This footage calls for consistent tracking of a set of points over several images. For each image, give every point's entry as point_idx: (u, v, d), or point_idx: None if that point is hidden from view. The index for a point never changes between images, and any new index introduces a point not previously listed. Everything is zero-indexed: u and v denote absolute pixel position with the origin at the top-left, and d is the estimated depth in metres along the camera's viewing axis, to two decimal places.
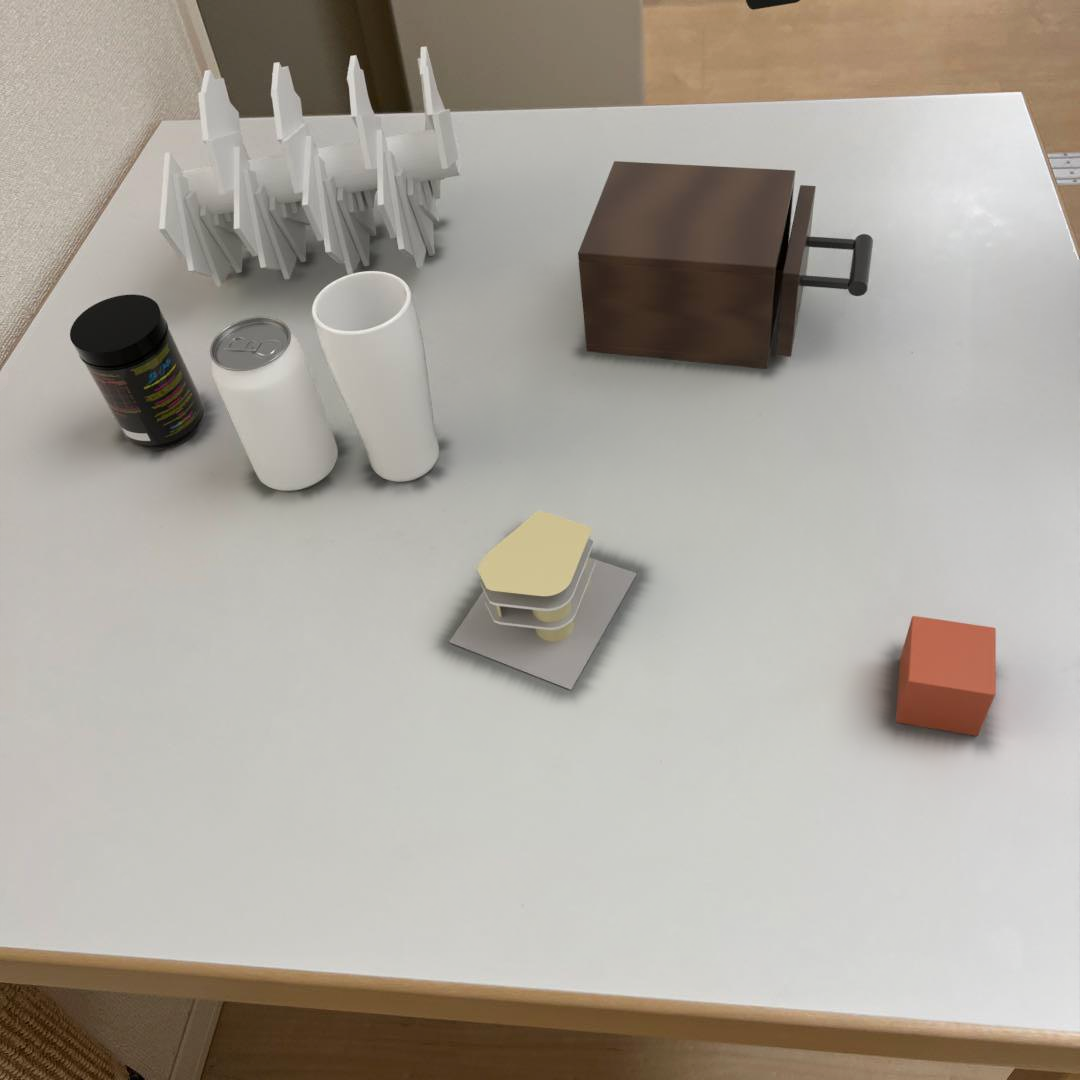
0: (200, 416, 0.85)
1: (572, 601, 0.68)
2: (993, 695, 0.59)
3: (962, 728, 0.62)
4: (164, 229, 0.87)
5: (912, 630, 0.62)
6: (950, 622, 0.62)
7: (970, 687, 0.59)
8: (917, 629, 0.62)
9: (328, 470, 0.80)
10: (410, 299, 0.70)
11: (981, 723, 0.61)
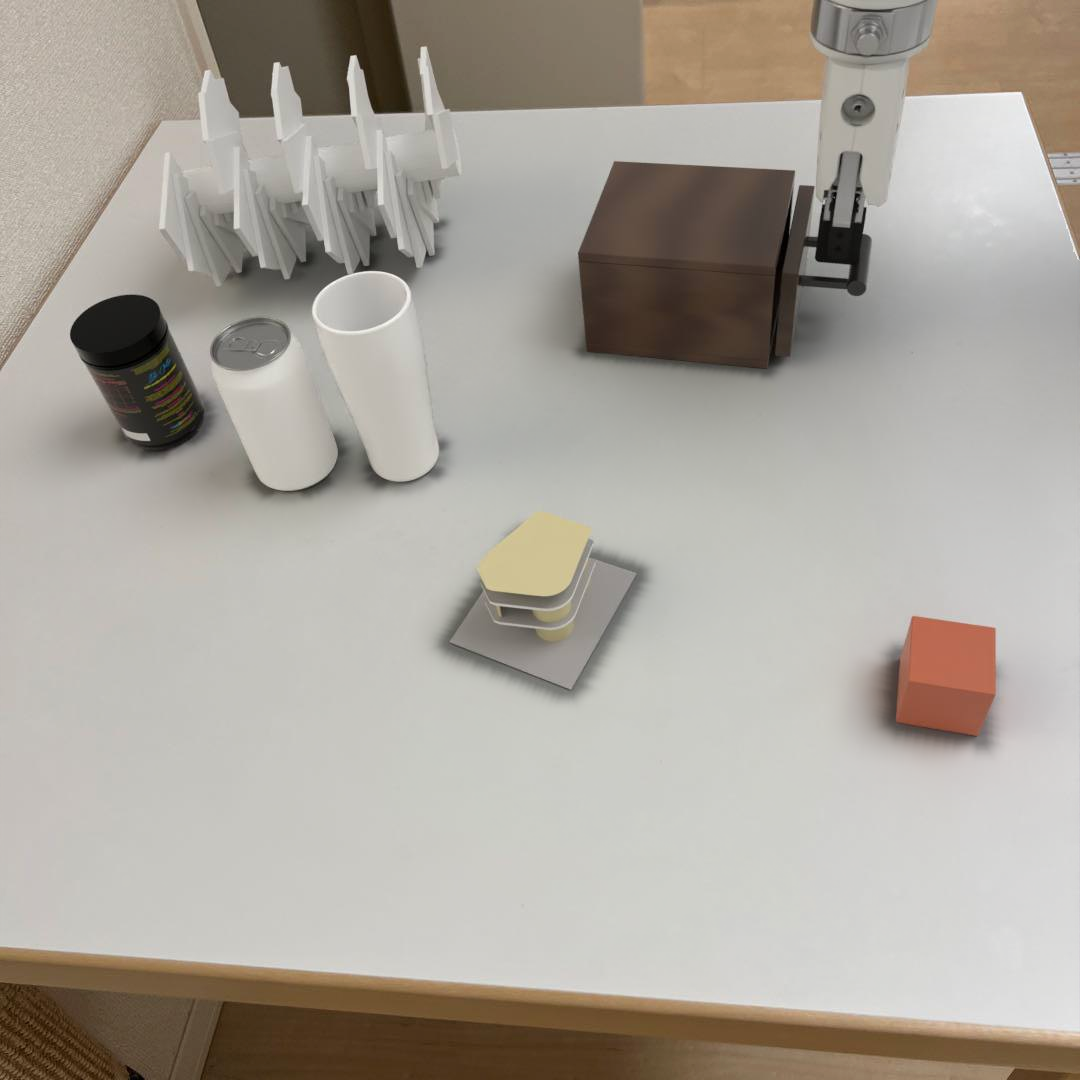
0: (200, 416, 0.85)
1: (572, 601, 0.68)
2: (993, 695, 0.59)
3: (962, 728, 0.62)
4: (164, 229, 0.87)
5: (912, 630, 0.62)
6: (950, 622, 0.62)
7: (970, 687, 0.59)
8: (917, 629, 0.62)
9: (328, 470, 0.80)
10: (410, 299, 0.70)
11: (981, 723, 0.61)
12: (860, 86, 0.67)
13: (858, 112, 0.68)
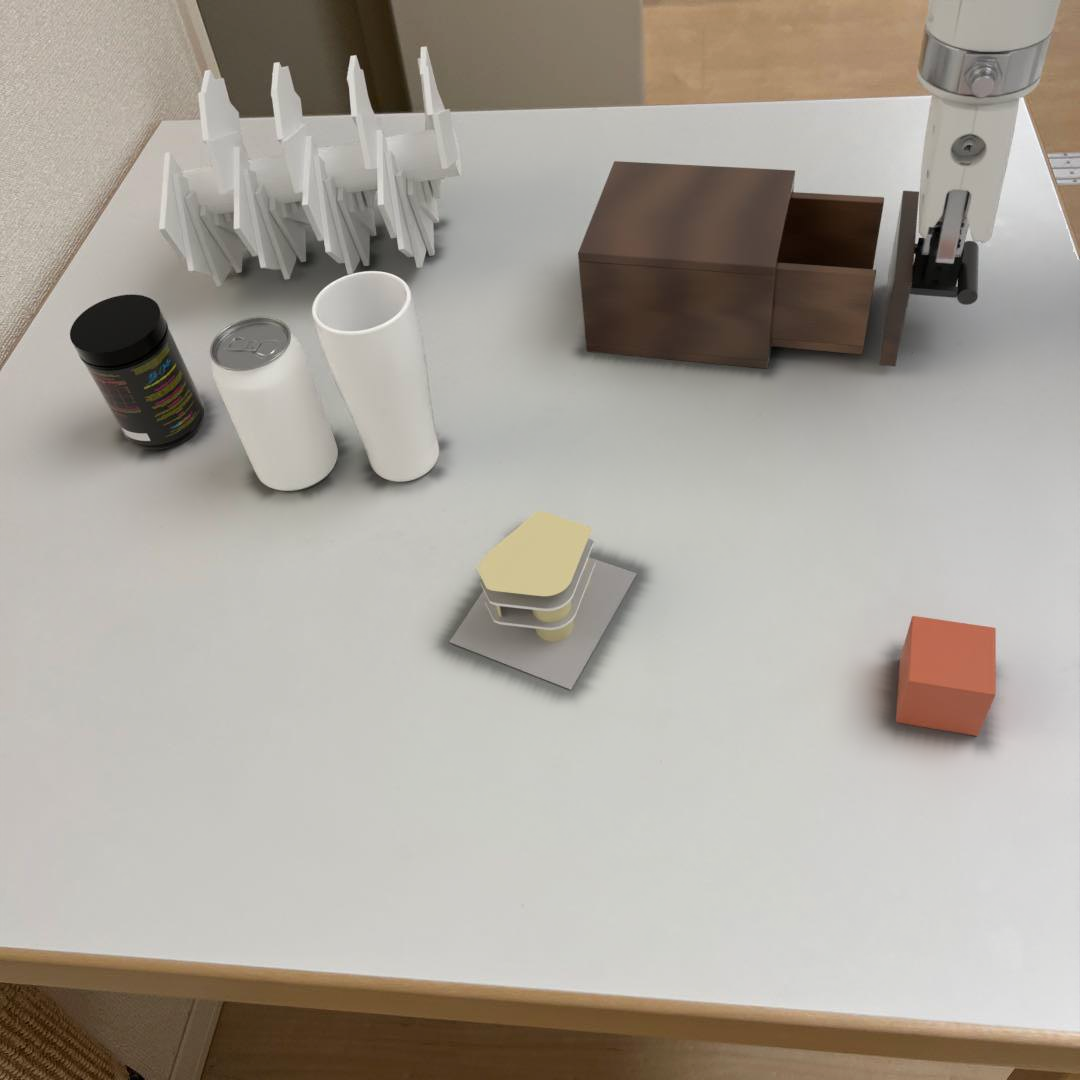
0: (200, 416, 0.85)
1: (572, 601, 0.68)
2: (993, 695, 0.59)
3: (962, 728, 0.62)
4: (164, 229, 0.87)
5: (912, 630, 0.62)
6: (950, 622, 0.62)
7: (970, 687, 0.59)
8: (917, 629, 0.62)
9: (328, 470, 0.80)
10: (410, 299, 0.70)
11: (981, 723, 0.61)
12: (972, 126, 0.67)
13: (968, 151, 0.68)
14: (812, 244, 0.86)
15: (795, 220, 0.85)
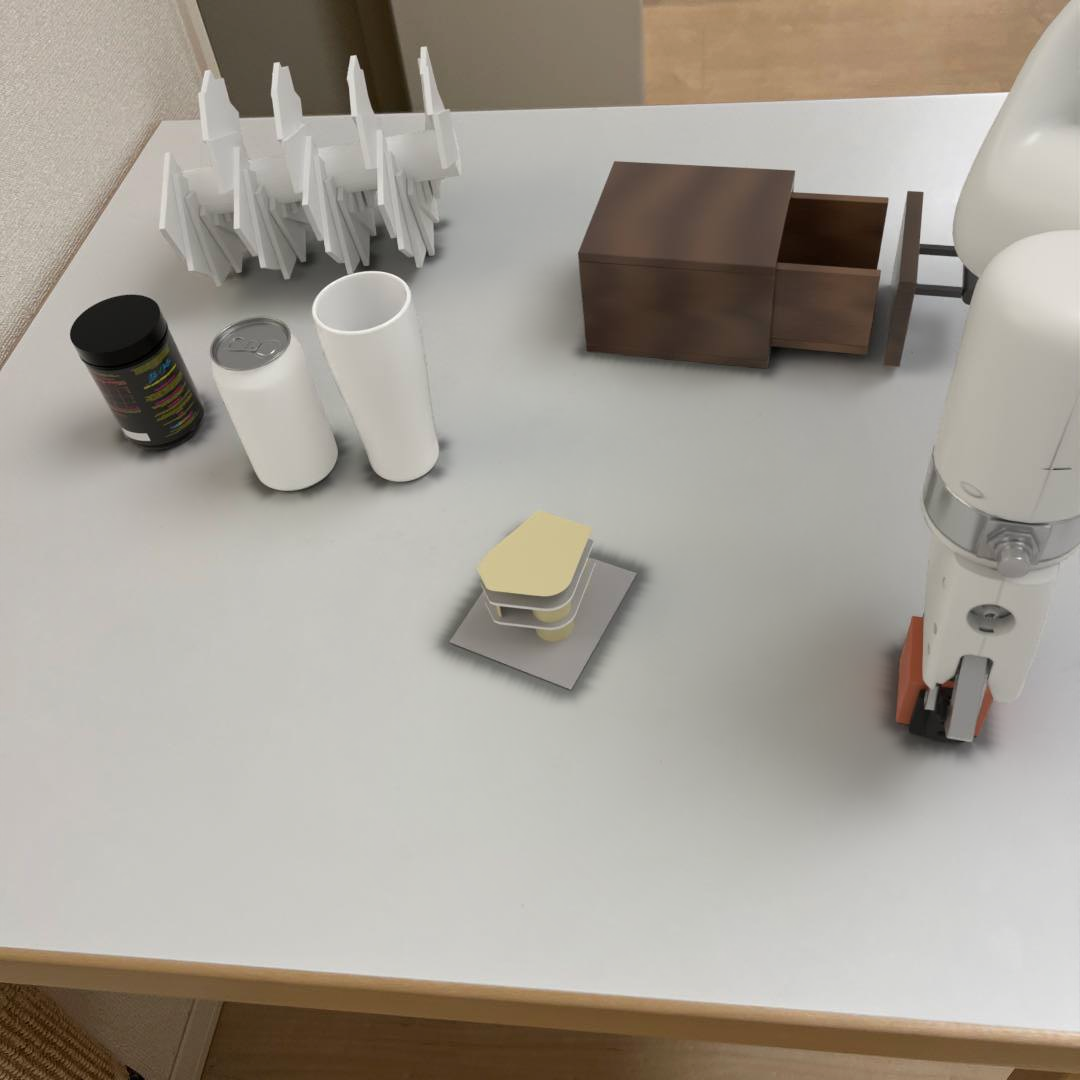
0: (200, 416, 0.85)
1: (572, 601, 0.68)
2: None
3: None
4: (164, 229, 0.87)
5: (912, 630, 0.62)
6: None
7: None
8: (917, 629, 0.62)
9: (328, 470, 0.80)
10: (410, 299, 0.70)
11: (981, 723, 0.61)
12: (996, 597, 0.49)
13: (990, 618, 0.50)
14: (817, 244, 0.86)
15: (799, 220, 0.85)
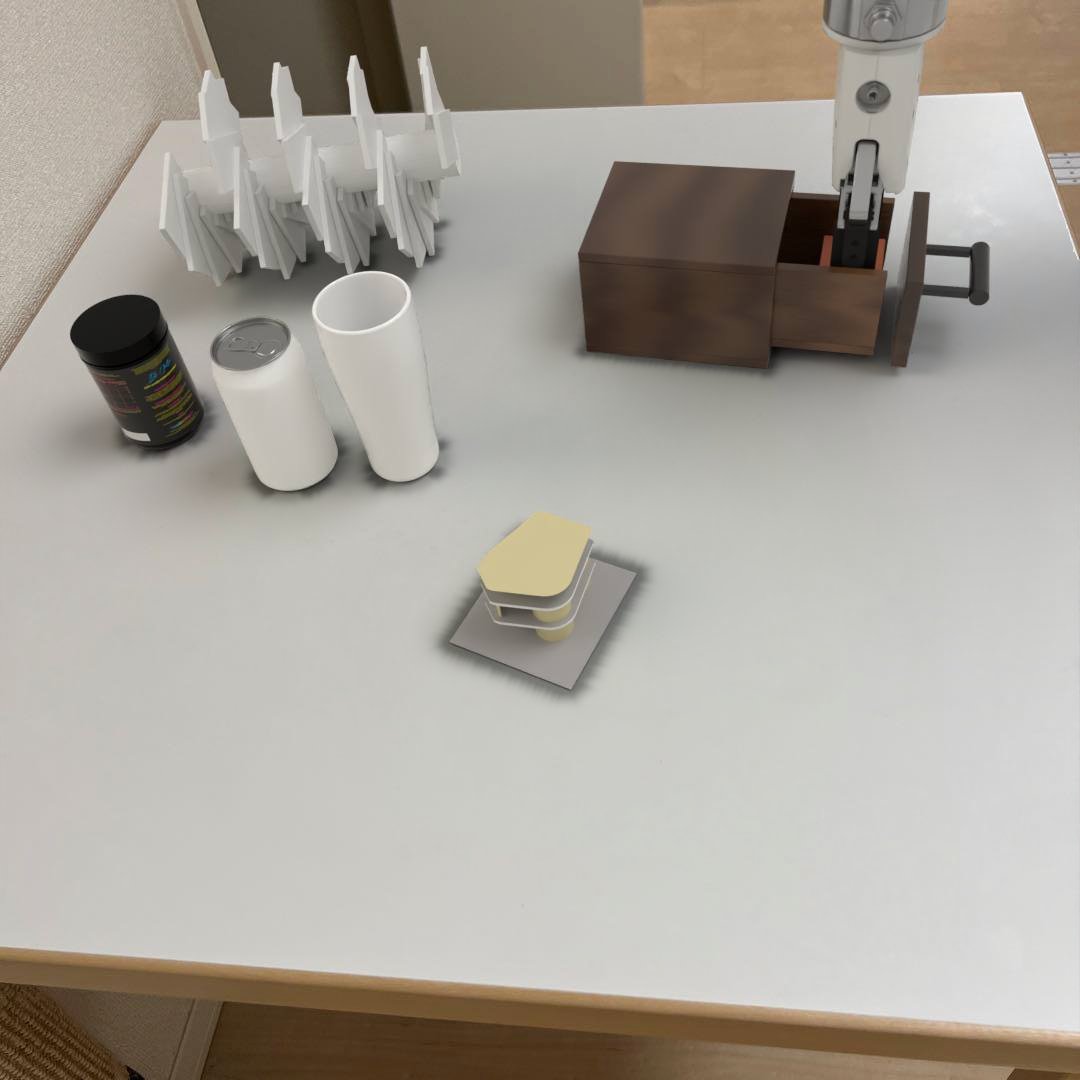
0: (200, 416, 0.85)
1: (572, 601, 0.68)
2: None
3: None
4: (164, 229, 0.87)
5: (823, 243, 0.82)
6: None
7: None
8: (827, 242, 0.82)
9: (328, 470, 0.80)
10: (410, 299, 0.70)
11: None
12: (875, 73, 0.66)
13: (873, 99, 0.67)
14: None
15: (805, 221, 0.85)
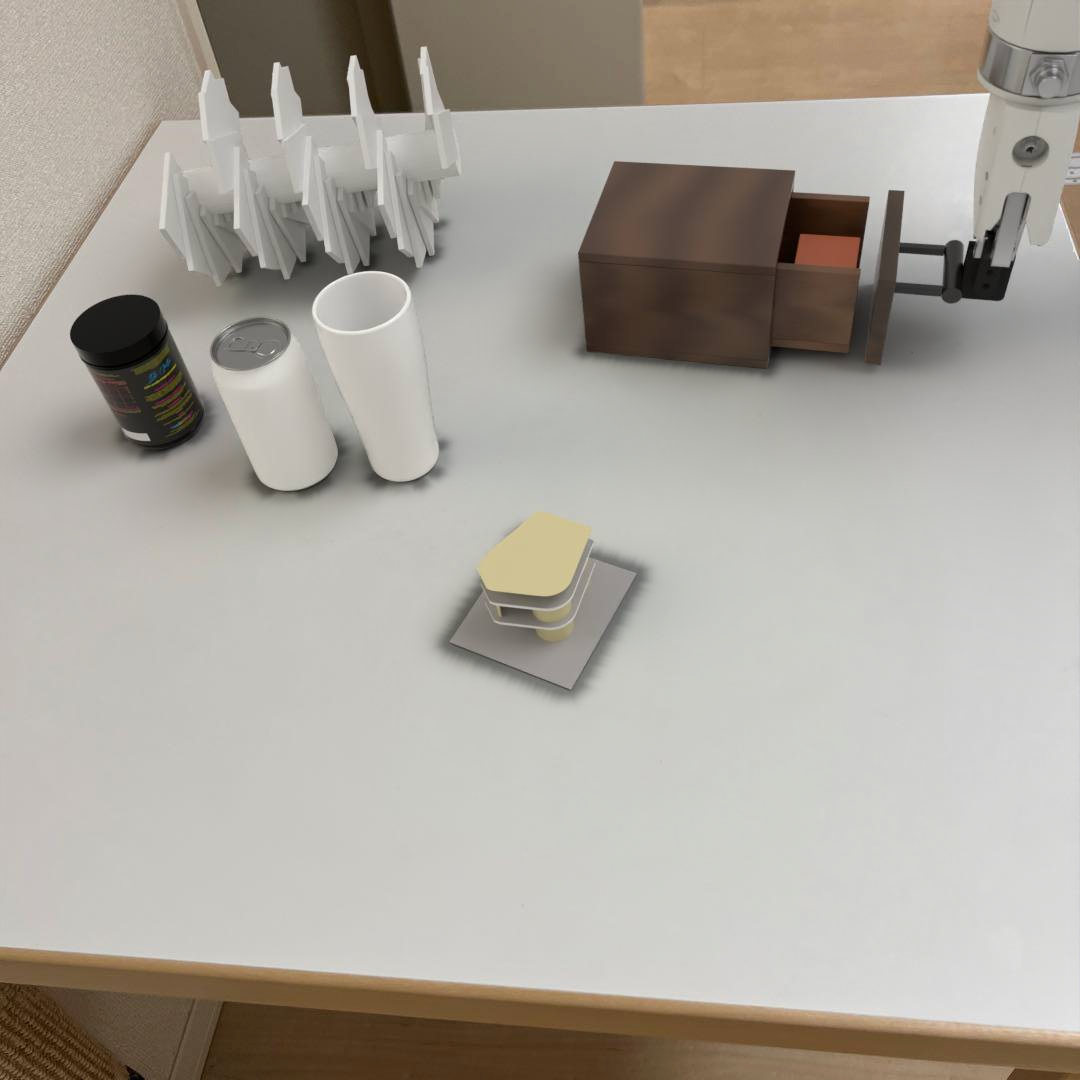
0: (200, 416, 0.85)
1: (572, 601, 0.68)
2: None
3: None
4: (164, 229, 0.87)
5: (799, 241, 0.83)
6: (827, 236, 0.83)
7: None
8: (802, 240, 0.83)
9: (328, 470, 0.80)
10: (410, 299, 0.70)
11: None
12: (1035, 128, 0.66)
13: (1030, 153, 0.67)
14: None
15: None
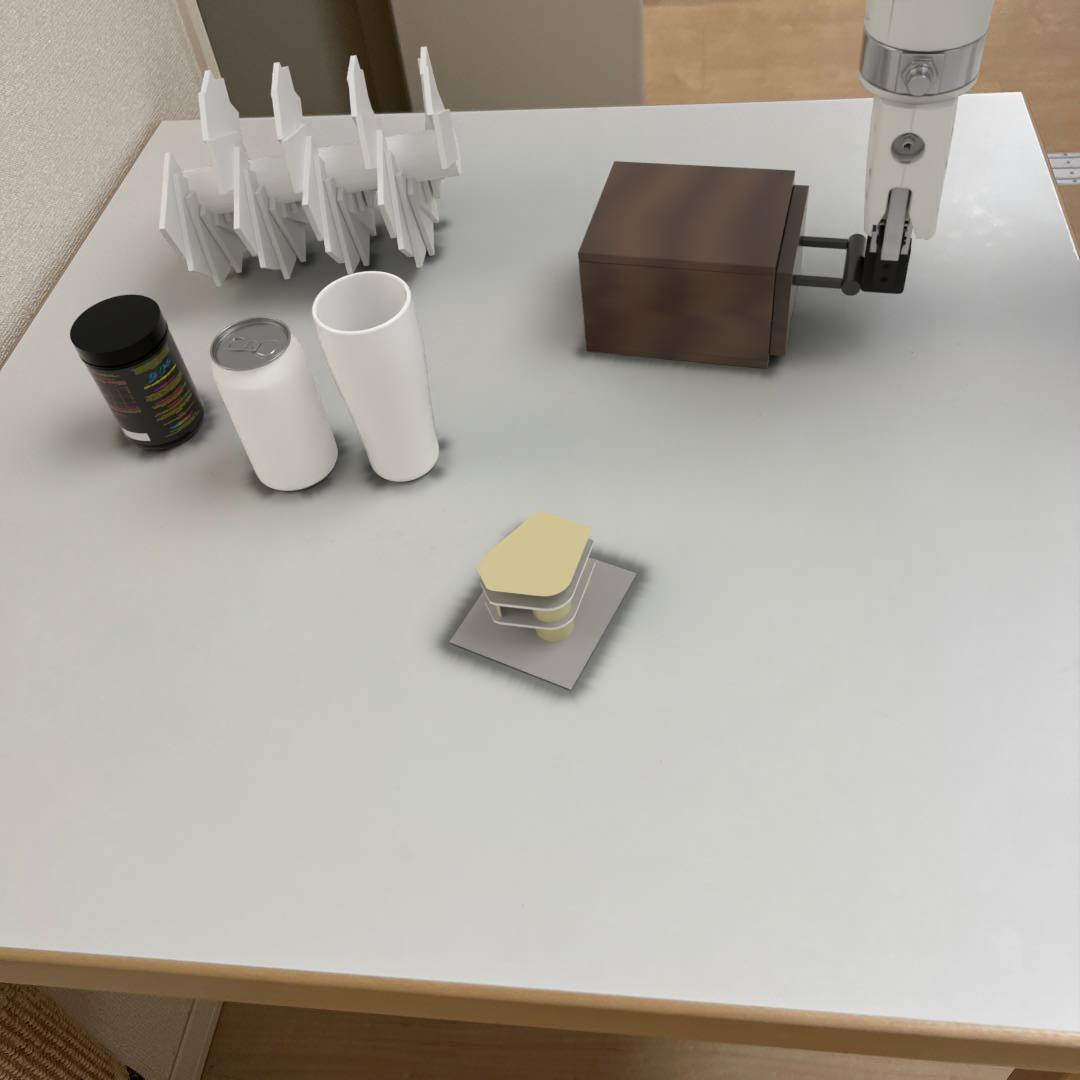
0: (200, 416, 0.85)
1: (572, 601, 0.68)
2: None
3: None
4: (164, 229, 0.87)
5: None
6: None
7: None
8: None
9: (328, 470, 0.80)
10: (410, 299, 0.70)
11: None
12: (910, 125, 0.68)
13: (908, 150, 0.69)
14: None
15: None
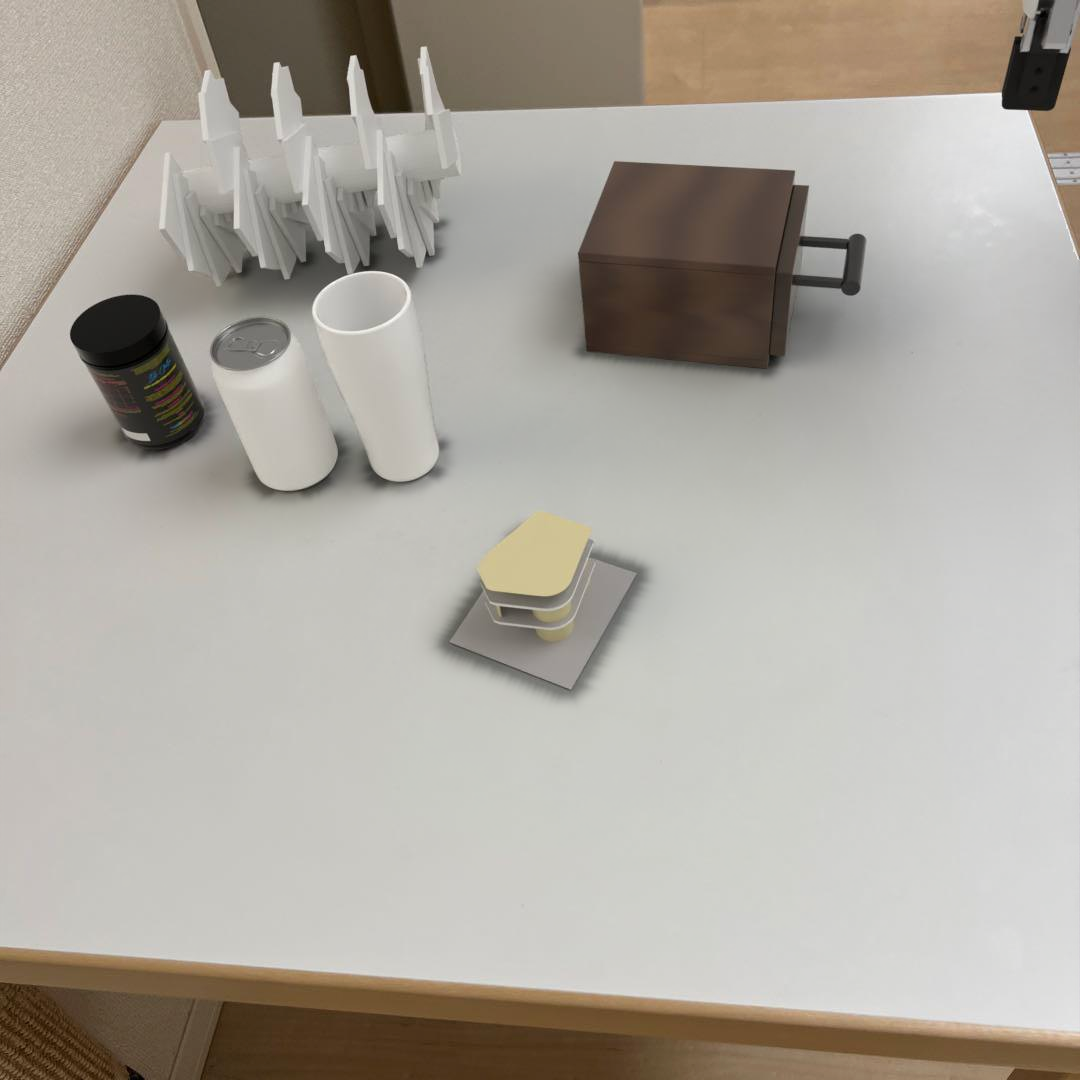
0: (200, 416, 0.85)
1: (572, 601, 0.68)
2: None
3: None
4: (164, 229, 0.87)
5: None
6: None
7: None
8: None
9: (328, 470, 0.80)
10: (410, 299, 0.70)
11: None
12: None
13: None
14: None
15: None
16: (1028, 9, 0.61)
